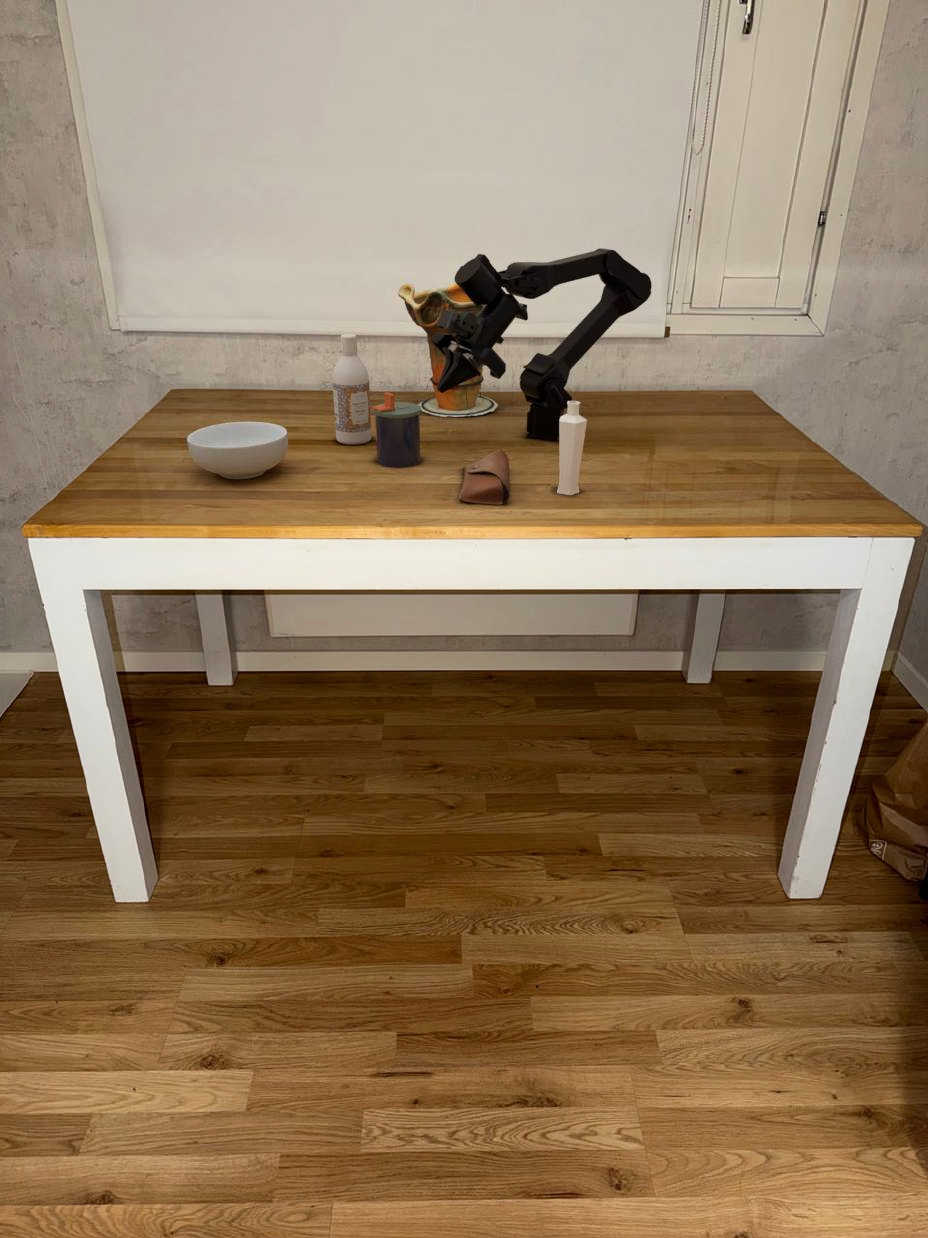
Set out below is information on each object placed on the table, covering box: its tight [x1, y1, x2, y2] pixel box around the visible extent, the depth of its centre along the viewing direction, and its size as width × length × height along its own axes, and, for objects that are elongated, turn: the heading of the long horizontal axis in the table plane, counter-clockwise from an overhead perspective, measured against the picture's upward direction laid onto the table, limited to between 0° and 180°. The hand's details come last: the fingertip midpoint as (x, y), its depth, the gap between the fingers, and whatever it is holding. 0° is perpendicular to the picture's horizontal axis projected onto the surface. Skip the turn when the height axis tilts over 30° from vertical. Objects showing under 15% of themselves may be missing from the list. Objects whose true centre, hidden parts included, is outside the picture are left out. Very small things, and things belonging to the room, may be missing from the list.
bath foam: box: [332, 333, 372, 446], centre depth 165 cm, size 7×7×20 cm
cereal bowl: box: [186, 421, 289, 480], centre depth 151 cm, size 17×17×7 cm
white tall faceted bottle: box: [556, 400, 588, 496], centre depth 142 cm, size 5×4×15 cm
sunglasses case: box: [458, 448, 511, 506], centre depth 146 cm, size 18×7×7 cm
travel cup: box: [372, 401, 422, 468], centre depth 157 cm, size 9×9×10 cm
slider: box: [372, 391, 395, 412], centre depth 153 cm, size 3×3×3 cm
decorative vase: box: [397, 282, 499, 418], centre depth 186 cm, size 21×23×28 cm
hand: (439, 390), depth 157 cm, fingers closed
